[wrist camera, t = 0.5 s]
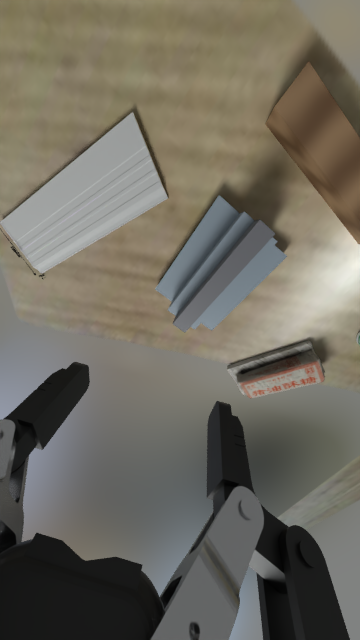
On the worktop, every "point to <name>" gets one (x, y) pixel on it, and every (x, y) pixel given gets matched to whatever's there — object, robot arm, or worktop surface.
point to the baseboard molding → (88, 198)
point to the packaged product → (278, 370)
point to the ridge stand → (219, 266)
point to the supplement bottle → (358, 338)
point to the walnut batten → (321, 144)
